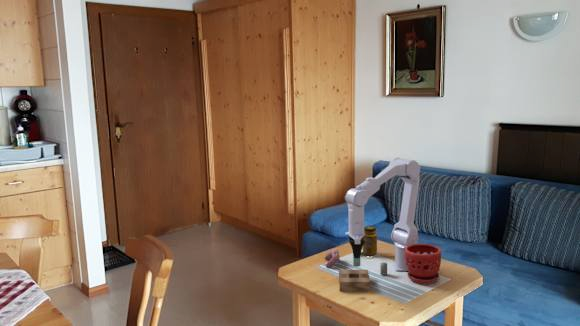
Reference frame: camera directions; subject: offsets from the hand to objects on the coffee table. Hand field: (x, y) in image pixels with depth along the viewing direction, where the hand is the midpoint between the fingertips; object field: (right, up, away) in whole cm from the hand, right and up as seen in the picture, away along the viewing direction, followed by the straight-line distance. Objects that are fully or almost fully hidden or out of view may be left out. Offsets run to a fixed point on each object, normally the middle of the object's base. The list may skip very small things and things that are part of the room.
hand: (356, 256), depth 180 cm
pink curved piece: (-7, -7, +21) cm, 23 cm away
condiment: (+9, -5, +29) cm, 31 cm away
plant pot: (+25, -9, +2) cm, 27 cm away
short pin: (+12, -9, +7) cm, 16 cm away
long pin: (0, -3, +1) cm, 4 cm away
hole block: (-1, -10, 0) cm, 10 cm away
